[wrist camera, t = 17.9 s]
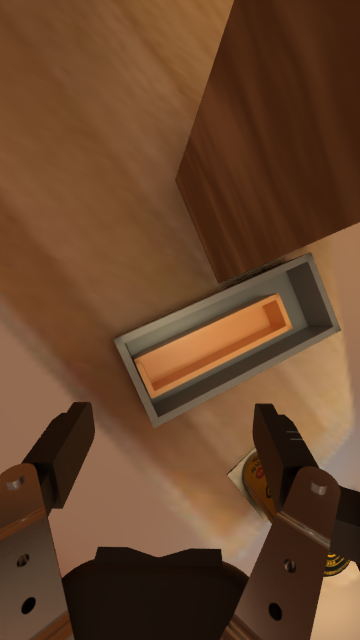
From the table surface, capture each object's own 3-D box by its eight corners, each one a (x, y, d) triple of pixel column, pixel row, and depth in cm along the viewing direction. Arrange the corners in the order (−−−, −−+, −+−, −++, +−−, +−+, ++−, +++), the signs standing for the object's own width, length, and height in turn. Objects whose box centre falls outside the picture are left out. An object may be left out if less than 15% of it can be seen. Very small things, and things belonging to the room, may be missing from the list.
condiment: (267, 435, 34) (339, 493, 23) (302, 480, 35) (388, 559, 24) (226, 473, 33) (280, 556, 21) (263, 520, 34) (334, 623, 22)
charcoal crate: (150, 412, 31) (154, 428, 26) (115, 337, 31) (113, 339, 26) (312, 329, 36) (341, 330, 31) (285, 262, 35) (310, 252, 30)
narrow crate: (148, 389, 31) (151, 399, 27) (132, 355, 30) (133, 359, 26) (273, 327, 34) (292, 328, 30) (261, 296, 34) (278, 292, 30)
